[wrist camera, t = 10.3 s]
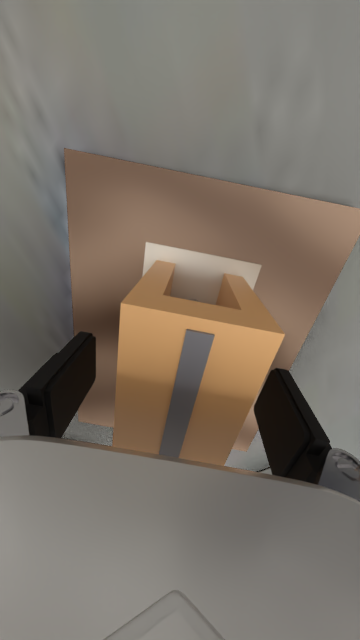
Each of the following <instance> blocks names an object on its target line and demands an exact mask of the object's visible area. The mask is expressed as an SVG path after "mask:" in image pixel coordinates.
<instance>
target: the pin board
mask: <svg viewBox="0 0 360 640" xmlns="http://www.w3.org/2000/svg"><path fill="white" fill-rule="evenodd" d="M64 156H65V175H66V194H67V213H68V232H69V251H70V270H71V289H72V308H73V327H74V337H75V336H76V335H77V334H78V333H79V332H80V331H83V332H88V333H92V334H93V336H95V337H96V378H95V381H94V383H93V385H92V387H91V388H90V390H89V392H88V393H87V395H86V397H85V398H84V400H83V402H82V403H81V405H80V407H79V408H78V421H79V422H85V423H91V424H96V425H102V426H107V427H114V410H115V393H116V376H117V359H118V342H119V325H120V308H121V302H122V301H123V300H124V299H125V297H126V296H127V295H128V294H129V293H130V291H131V290H132V289H133V288H134V287H135V285H136V284H137V283H138V282H139V281H140V279H141V278H142V277H143V276H144V275H145V273H146V272H147V271H148V270H149V269H150V268H151V266H152V265H153V264H154V263H155V262H156V260H159V261H165V262H170V263H175V264H176V265H175V271H174V277H173V282H172V288H171V294H170V296H171V297H176V298H181V299H186V300H192V301H197V302H202V303H207V304H212V305H216V302H217V298H218V295H219V291H220V287H221V284H222V280H223V276H224V273H226V274H231V275H236V276H241V277H243V278H244V279H245V280H246V282H247V283H248V284H249V286H250V287H251V289H252V290H253V291H254V293H255V294H256V295H257V297H258V298H259V299H260V301H261V302H262V303H263V305H264V306H265V308H266V309H267V310H268V312H269V313H270V314H271V316H272V317H273V318H274V320H275V321H276V323H277V324H278V325H279V327H280V328H281V329H282V331H283V332H284V333H285V336H284V338H283V341H282V343H281V345H280V347H279V349H278V351H277V353H276V355H275V358H274V360H273V362H272V364H271V366H270V368H269V370H268V373H267V375H266V377H265V379H264V381H263V383H262V385H261V387H260V390H259V392H258V394H257V396H256V398H255V400H254V402H253V405H252V407H251V409H250V411H249V413H248V415H247V417H246V420H245V422H244V424H243V426H242V428H241V430H240V432H239V434H238V437H237V439H236V441H235V443H234V445H233V447H232V449H235V450H240V451H246V452H247V450H248V448H249V446H250V444H251V442H252V440H253V438H254V436H255V434H256V432H257V431H258V429H259V428H258V424H257V421H256V417H255V414H254V405H255V402H256V400H257V398H258V396H259V394H260V392H261V390H262V388H263V386H264V383H265V381H266V379H267V377H268V375H269V373H270V371H271V370H274V369H275V368H280V369H286V370H288V371H289V369H290V368H291V366H292V364H293V362H294V360H295V358H296V356H297V354H298V352H299V350H300V348H301V347H302V345H303V343H304V341H305V339H306V337H307V335H308V333H309V331H310V329H311V327H312V326H313V324H314V322H315V320H316V318H317V316H318V314H319V312H320V310H321V308H322V306H323V305H324V303H325V301H326V299H327V297H328V295H329V293H330V291H331V289H332V287H333V285H334V284H335V282H336V280H337V278H338V276H339V274H340V272H341V270H342V268H343V266H344V264H345V263H346V261H347V259H348V257H349V255H350V253H351V251H352V249H353V247H354V245H355V243H356V242H357V240H358V238H359V236H360V209H359V208H354V207H349V206H344V205H339V204H334V203H330V202H325V201H320V200H315V199H310V198H305V197H300V196H295V195H291V194H286V193H281V192H276V191H271V190H266V189H261V188H256V187H252V186H247V185H242V184H237V183H232V182H227V181H222V180H217V179H213V178H208V177H203V176H198V175H193V174H188V173H183V172H178V171H173V170H169V169H164V168H159V167H154V166H149V165H144V164H139V163H134V162H130V161H125V160H120V159H115V158H110V157H105V156H100V155H95V154H91V153H86V152H81V151H76V150H71V149H66V148H64Z"/></svg>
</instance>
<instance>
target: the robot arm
mask: <svg viewBox="0 0 360 640" xmlns="http://www.w3.org/2000/svg"><path fill="white" fill-rule="evenodd" d="M95 378H96V337H95V336H93V334H92V333H88V332H83V331H80V332H79V333H78V334H77V335H76V336H75V337H74V338H73V339H72V340H71V341H70V342H69V343H68V344H67V345H66V346H65V347H64V348H63V349H62V350H61V351H60V352H59V353H56V354H55V355H53V356H52V357H51V358H50V359H49V360H48V361H47V362H46V363H45V364H44V365H43V366H42V367H41V368H40V369H39V370H38V371H37V372H36V373H35V374H34V375H33V376H32V377H31V378H30V379H29V380H28V381H27V382H26V383H25V384H24V385H23V386H22V387H21V388H20V389H19V390H18V391H16V390H3V391H0V640H360V461H359V460H358V459H357V458H355V457H354V456H353V455H352V454H350V453H348V452H346V451H344V450H342V449H338V448H333V449H332V448H331V446H330V444H329V443H330V440H329V439H328V437H327V435H326V434H325V432H324V430H323V429H322V427H321V425H320V424H319V422H318V420H317V418H316V417H315V415H314V413H313V412H312V410H311V408H310V407H309V405H308V403H307V401H306V400H305V398H304V396H303V395H302V393H301V391H300V390H299V388H298V386H297V384H296V383H295V381H294V379H293V378H292V376H291V374H290V373H289V371H288V370H286V369H280V368H275V369H274V370H271V371H270V373H269V375H268V377H267V379H266V381H265V383H264V386H263V388H262V390H261V392H260V394H259V396H258V398H257V400H256V402H255V405H254V414H255V417H256V421H257V424H258V428H259V431H260V435H261V438H262V441H263V445H264V448H265V452H266V455H267V458H268V462H269V465H270V469H271V472H272V475H270V474H265V473H259V472H254V471H248V470H243V469H237V468H232V467H226V466H221V465H215V464H210V463H204V462H198V461H193V460H187V459H182V458H176V457H170V456H164V455H159V454H153V453H147V452H141V451H136V450H130V449H124V448H118V447H112V446H106V445H100V444H95V443H88V442H82V441H75V440H68V439H62V438H61V437H62V435H63V433H64V432H65V430H66V428H67V427H68V425H69V423H70V422H71V420H72V418H73V417H74V415H75V413H76V412H77V410H78V408H79V407H80V405H81V403H82V402H83V400H84V398H85V397H86V395H87V393H88V392H89V390H90V388H91V387H92V385H93V383H94V381H95Z"/></svg>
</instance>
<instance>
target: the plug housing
mask: <svg viewBox="0 0 360 640" xmlns="http://www.w3.org/2000/svg"><path fill="white" fill-rule="evenodd" d="M175 265H176V264H175V263H170V262H165V261H159V260H156V262H155V263H154V264H153V265H152V266H151V268H150V269H149V270H148V271H147V272H146V273H145V275H144V276H143V277H142V278H141V279H140V281H139V282H138V283H137V284H136V285H135V287H134V288H133V289H132V290H131V291H130V293H129V294H128V295H127V296H126V297H125V299H124V300H123V301H122V302H121V308H120V325H119V342H118V359H117V376H116V393H115V410H114V427H113V445H112V447H118V448H124V449H130V450H136V451H141V452H147V453H153V454H159V455H164V456H170V457H176V458H182V459H187V460H193V461H198V462H204V463H210V464H215V465H221V466H224V464H225V462H226V460H227V458H228V456H229V454H230V452H231V449H232V447H233V445H234V443H235V441H236V439H237V437H238V434H239V432H240V430H241V428H242V426H243V424H244V422H245V420H246V417H247V415H248V413H249V411H250V409H251V407H252V405H253V402H254V400H255V398H256V396H257V394H258V392H259V390H260V387H261V385H262V383H263V381H264V379H265V377H266V375H267V373H268V370H269V368H270V366H271V364H272V362H273V360H274V358H275V355H276V353H277V351H278V349H279V347H280V345H281V343H282V341H283V338H284V336H285V333H284V332H283V331H282V329H281V328H280V327H279V325H278V324H277V323H276V321H275V320H274V318H273V317H272V316H271V314H270V313H269V312H268V310H267V309H266V308H265V306H264V305H263V303H262V302H261V301H260V299H259V298H258V297H257V295H256V294H255V293H254V291H253V290H252V289H251V287H250V286H249V284H248V283H247V282H246V280H245V279H244V278H243V277H241V276H236V275H231V274H226V273H224V276H223V280H222V284H221V287H220V291H219V295H218V298H217V302H216V305H212V304H207V303H202V302H197V301H192V300H186V299H181V298H176V297H171V296H170V294H171V288H172V282H173V277H174V271H175Z"/></svg>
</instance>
